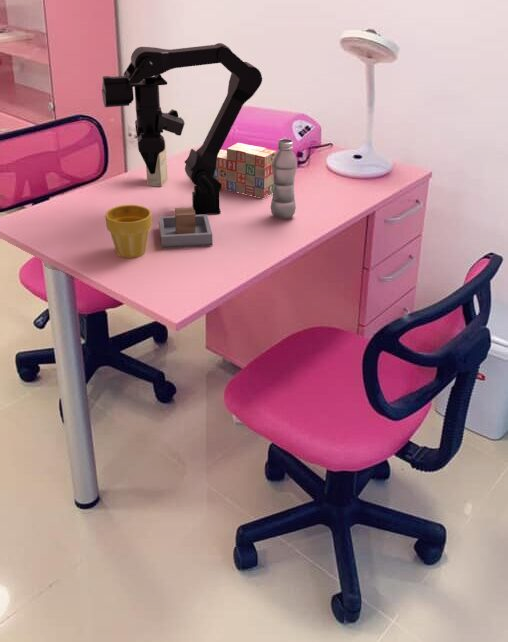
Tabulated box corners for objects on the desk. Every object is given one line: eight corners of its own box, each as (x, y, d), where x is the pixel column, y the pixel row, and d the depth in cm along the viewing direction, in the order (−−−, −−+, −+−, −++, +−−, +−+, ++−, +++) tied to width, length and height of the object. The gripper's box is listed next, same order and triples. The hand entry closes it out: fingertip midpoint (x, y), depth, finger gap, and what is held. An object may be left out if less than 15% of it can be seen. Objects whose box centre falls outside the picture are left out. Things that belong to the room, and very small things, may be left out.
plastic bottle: (299, 214, 189) (302, 139, 179) (289, 223, 184) (292, 146, 174) (276, 210, 192) (279, 135, 181) (266, 219, 186) (268, 142, 176)
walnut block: (175, 231, 178) (174, 208, 175) (193, 230, 178) (193, 207, 175) (176, 238, 174) (175, 215, 171) (195, 237, 174) (194, 214, 171)
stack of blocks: (200, 184, 208) (198, 142, 201) (212, 178, 212) (211, 136, 206) (264, 199, 198) (264, 156, 192) (275, 192, 203) (276, 149, 196)
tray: (207, 225, 182) (207, 214, 181) (212, 245, 172) (212, 234, 171) (159, 227, 181) (158, 216, 179) (161, 248, 170) (161, 236, 169)
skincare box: (161, 187, 205) (159, 145, 198) (146, 186, 205) (143, 144, 199) (168, 179, 210) (166, 138, 204) (153, 178, 211) (151, 137, 204)
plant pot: (157, 259, 166) (154, 219, 161) (111, 264, 163) (107, 224, 158) (149, 240, 174) (147, 202, 169) (106, 245, 172) (102, 206, 166)
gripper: (185, 113, 166) (187, 178, 174) (178, 93, 181) (180, 154, 189) (136, 115, 164) (140, 181, 172) (133, 94, 179) (137, 156, 188)
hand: (151, 167), depth 180 cm, fingers open, 9 cm apart
